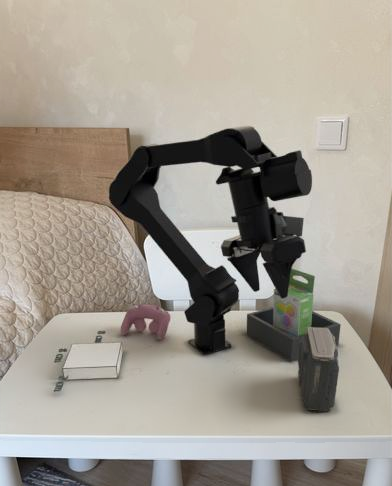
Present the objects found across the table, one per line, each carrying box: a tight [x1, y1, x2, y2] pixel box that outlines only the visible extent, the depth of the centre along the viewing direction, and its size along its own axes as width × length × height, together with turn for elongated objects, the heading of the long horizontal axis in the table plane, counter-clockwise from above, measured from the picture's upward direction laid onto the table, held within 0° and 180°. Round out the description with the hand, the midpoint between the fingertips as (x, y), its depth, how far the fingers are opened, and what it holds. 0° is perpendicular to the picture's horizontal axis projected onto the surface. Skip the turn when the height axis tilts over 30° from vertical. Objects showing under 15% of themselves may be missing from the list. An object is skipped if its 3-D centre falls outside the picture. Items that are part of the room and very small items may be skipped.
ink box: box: [272, 268, 316, 337], centre depth 101 cm, size 7×4×13 cm, turn 37°
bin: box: [246, 306, 341, 363], centre depth 103 cm, size 14×12×5 cm
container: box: [53, 330, 124, 392], centre depth 95 cm, size 20×11×3 cm, turn 2°
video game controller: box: [120, 303, 171, 341], centre depth 107 cm, size 10×5×7 cm, turn 71°
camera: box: [297, 327, 340, 412], centre depth 84 cm, size 11×6×10 cm, turn 172°
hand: (270, 294), depth 91 cm, fingers open, 9 cm apart
